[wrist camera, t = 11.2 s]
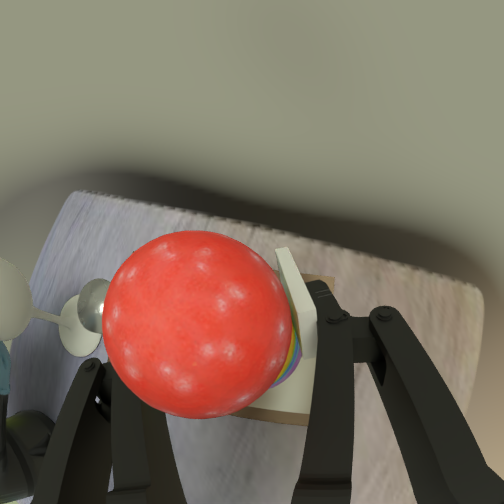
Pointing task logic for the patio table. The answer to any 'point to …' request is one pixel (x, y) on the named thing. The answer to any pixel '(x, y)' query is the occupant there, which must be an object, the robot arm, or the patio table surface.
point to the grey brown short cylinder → (92, 304)
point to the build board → (275, 413)
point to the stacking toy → (198, 325)
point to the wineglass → (39, 314)
